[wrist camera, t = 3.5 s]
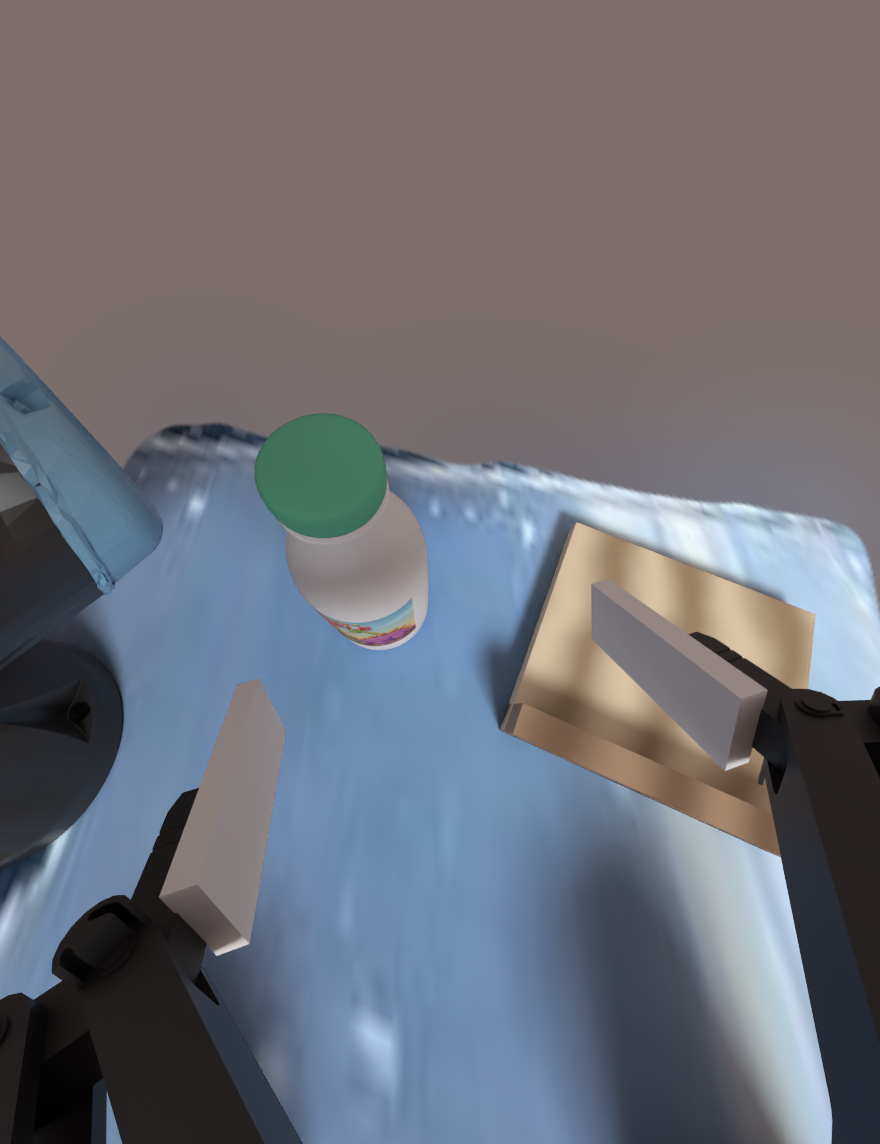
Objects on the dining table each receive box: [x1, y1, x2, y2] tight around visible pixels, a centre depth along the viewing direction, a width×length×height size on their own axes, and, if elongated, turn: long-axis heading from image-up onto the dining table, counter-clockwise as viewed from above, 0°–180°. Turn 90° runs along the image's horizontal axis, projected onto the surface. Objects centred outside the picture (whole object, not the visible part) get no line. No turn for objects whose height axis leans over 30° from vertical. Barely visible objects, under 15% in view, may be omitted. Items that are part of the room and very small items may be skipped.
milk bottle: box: [255, 414, 428, 650], centre depth 23 cm, size 8×8×20 cm
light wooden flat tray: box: [499, 522, 815, 857], centre depth 29 cm, size 20×18×5 cm
